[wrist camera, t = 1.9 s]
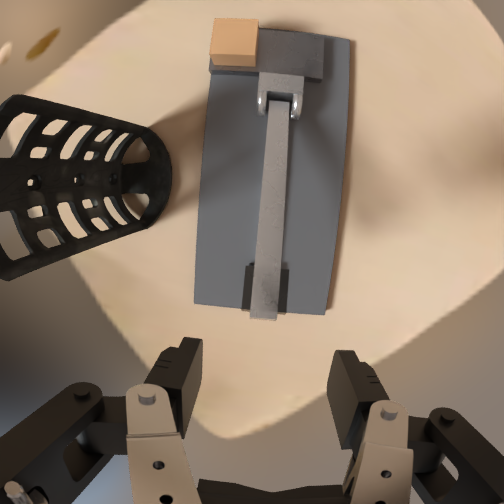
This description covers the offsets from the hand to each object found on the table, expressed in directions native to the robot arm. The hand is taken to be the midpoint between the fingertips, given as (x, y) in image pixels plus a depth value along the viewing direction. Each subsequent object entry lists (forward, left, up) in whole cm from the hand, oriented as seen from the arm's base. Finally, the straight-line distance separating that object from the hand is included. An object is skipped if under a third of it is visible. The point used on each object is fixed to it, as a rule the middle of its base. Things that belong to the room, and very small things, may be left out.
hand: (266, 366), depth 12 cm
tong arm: (-6, 0, -14) cm, 15 cm away
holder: (-7, -15, -22) cm, 27 cm away
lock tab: (-21, -4, -19) cm, 28 cm away
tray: (-9, 0, -21) cm, 23 cm away
